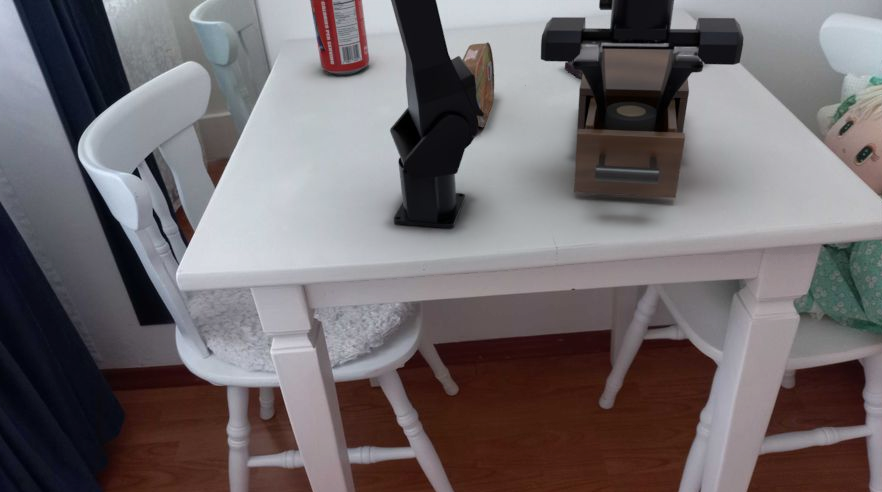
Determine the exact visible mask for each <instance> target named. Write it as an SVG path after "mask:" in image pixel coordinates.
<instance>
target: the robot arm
mask: <svg viewBox="0 0 882 492" xmlns="http://www.w3.org/2000/svg"><path fill="white" fill-rule="evenodd" d="M390 2H391V6H392V11H393V14H394V17H395V21H396V24H397V28H398V32H399V35H400V39H401V42H402V46H403V50H404V53H405V86H406V99H407V108H406V109H405V110H404V112H403V113H402V114H401V115H400V116H399V118H398V119H397V120H396V121H395V122H394V124H393V125H392V126H391V127H390V129H389V132H390V135H391V138H392V140H393V143H394V145H395V148H396V150H397V153H398V155H399V157H398V161H397V162H398V171H399V180H400V188H401V198H402V202H401V204H400V206H399V208H398V210H397V211H396V212H395V215H394V216H393V223H394V224H395V225H404V226H405V225H407V226H417V227H418V226H420V227H432V228H446V229H450V228H453V227H455V225H456V222H457V219H458V217H459V215H460V212H461V211H462V208H463V206H464V203H465V200H466V194H465V193H462V192H457V189H456V174H458V172H459V170H460V166H461V163H462V159H463V156H464V155H465V150H466V149H467V148H469V146H470V145H471V144H472V143H473V141H474V139H475V138H476V137H477V136H478V134H479V127H478V118H477V116H483V115H484V113H483V112H482V110H481V109H480V107H479V105H478V102H477V97H476V82H475V76H474V74H473V73H472V72H471V71H470V69H469V68H468V67H467V65H466V64H465V63H464V61H463V58H461V56H460V55H457V56H455V57H453V58H451V57H450V53H449V50H448V46H447V42H446V41H447V40H446V37H445V33H444V29H443V24H442V20H441V16H440V11H439V7H438V3H437V0H390ZM674 5H675V0H599V2H598V8H599V10H600V11H611V13H610V23H609V24H610V25H609V28H598V27H597V28H591V27H590V28H587V27H586V16H585V17H580V16H579V17H575V16H574V17H569V16H568V17H566V16H565V17H564V16H563V17H560V16H559V17H557V16H556V17H555V16H554V17H553V16H552V17H551V18H550V19H549V21H547V23H546V24H545V25H544V29H543V32H542V34H541V39H540V60H542V61H544V62H559V63H560V62H563V63H565V62H572V61H573V62H572V68H573V69H574V70H581V71H582V72H583V74H584V76H585V78H586V80H587V82H588V84H589V86H590V88H591V91H592V93H593V96H594V100H595V103H596V106H597V109H598V112H599V116H600V119H601V121H602V122H605V114H606V108H607V98H606V78H605V49H657V50H670V53H669V58H668V63H667V68H666V72H665V76H664V80H663V84H662V87H661V91H660V95H659V99H658V103H657V108H656V111H657V116H656V123H655V124H659V123H660V121H661V119H662V117H663V116H664V114H665V112H666V110H667V108H668V107H669V105H670V103H671V101H672V100H673V98H674V96H675V94H676V93H677V91H678V90H679V89H680V87H681V86H682V85H683V84H684V82H685V81H686V80H687V78H688V79H689V77H690V76H691V74H694V73H702V72H703V70H704V65H720V66H722V65H725V66H734V65H735V66H736V65H738V64H740V62H741V57H742V52H743V48H744V34H743V31H742V28H741V24H740V23H739V22H738V21H737V19H736V18H735V17H698V18H697V21H696V24H695V28H671V27H672V21H673V12H674V11H673V10H674V7H675V6H674Z"/></svg>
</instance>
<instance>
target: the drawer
mask: <svg viewBox="0 0 882 492" xmlns="http://www.w3.org/2000/svg"><path fill="white" fill-rule="evenodd" d="M606 98H607V107H608V106H610V105H612V104H615V103H621V102H637V103H643V104H646V105H649V106H651V107H653V108H655V109H656V108H657V103H658V99H659V97H632V96H606ZM676 129H677V128H676V110H675V98H673V100H672V101H671V103H670V105H669V107H668V108H667V110H666V112H665V114H664V116H663V117H662V119H661V121H660V123H659V124H655V130H654V132H648V131H623V130H604V122H602V121H601V119H600V116H599V112H598V109H597V106H596V103H595V100H594V96H593V95H591V100H590V106H589V111H588V117H587V122H586V129H578V132H577V131H576V143H577V144H575V145H576V146H575V162H574V163H575V164H574V179H573V181H574V182H573V192H574V193H582V194H583V193H584V194H598V195H599V194H601V195H617V196H633V197H635V196H636V197H649V198H651V197H652V198H665V199H667V198H668V199H676V198H677V192H678V185H679V178H680V173H681V167H682V166H681V165H682V160H683V153H684V147H685V140H686V136H685V135H686V134H685V133H684V132H683V133H676Z"/></svg>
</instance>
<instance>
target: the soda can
mask: <svg viewBox="0 0 882 492" xmlns="http://www.w3.org/2000/svg"><path fill="white" fill-rule="evenodd" d="M309 3H310V7H311V13H312V14H311V15H312V19H313V27H314V30H315V31H314V32H315V37H316V43H317V50H318V55H319V61H320V66H321V68H322V69H323V70H324V71H326V72H328V73H330V74H333V75H337V76H341V75H342V76H344V75H345V76H346V75H351V74H352V75H353V74H356V73H358V72H360V71H362V70H363V69H364V68H366V67H367V66H368V64H369V63H370V54H369V45H368V37H367V36H368V35H367V30H366V21H365V14H364V5H363V0H309Z"/></svg>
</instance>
